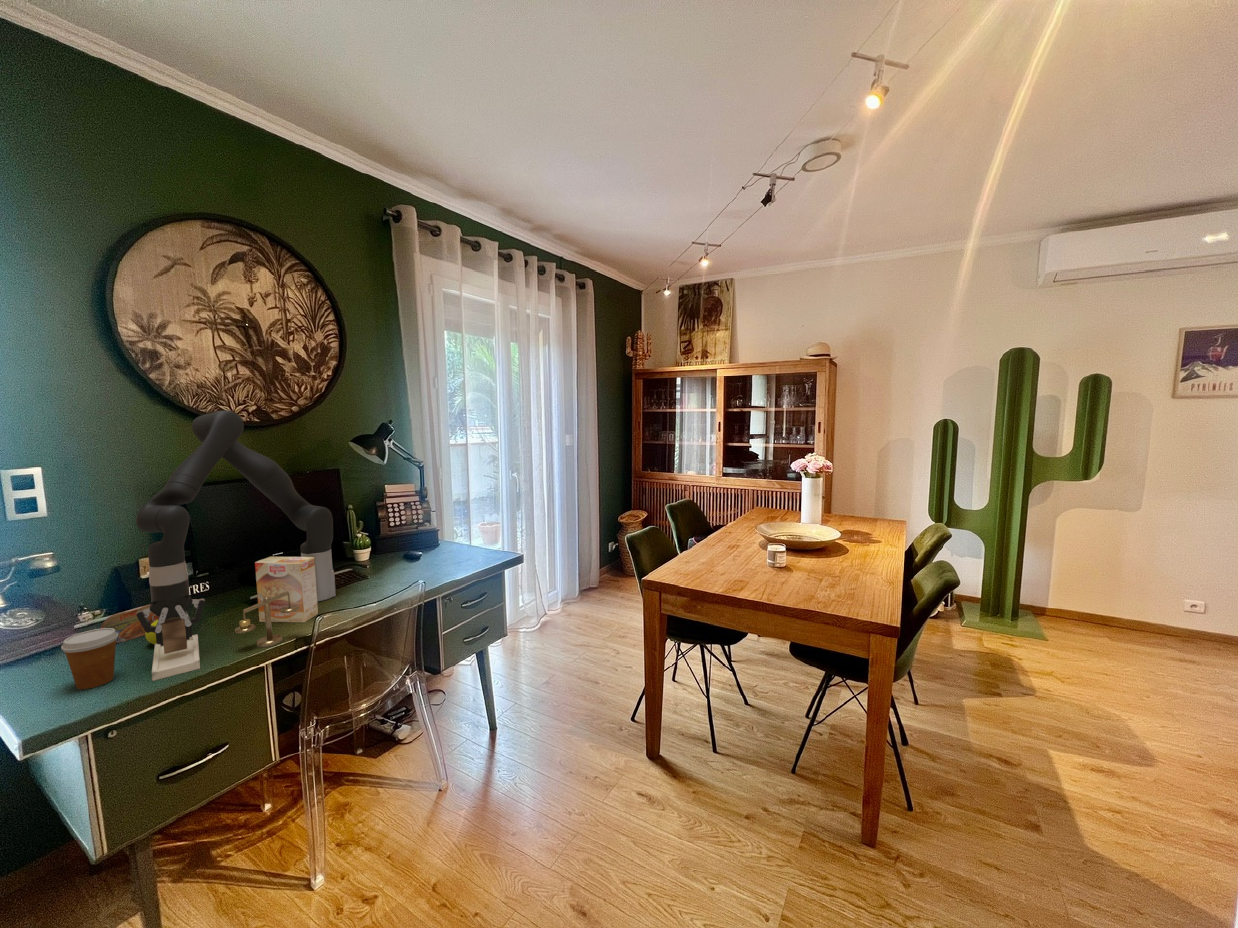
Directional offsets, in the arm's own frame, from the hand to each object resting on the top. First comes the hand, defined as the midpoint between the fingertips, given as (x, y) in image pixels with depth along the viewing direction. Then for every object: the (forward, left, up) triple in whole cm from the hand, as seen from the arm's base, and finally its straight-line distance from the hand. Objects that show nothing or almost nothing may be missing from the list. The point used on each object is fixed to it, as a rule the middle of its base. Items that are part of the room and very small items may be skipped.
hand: (175, 641), depth 132 cm
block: (0, 0, -2) cm, 2 cm away
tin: (+9, -27, -5) cm, 29 cm away
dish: (0, 0, -5) cm, 5 cm away
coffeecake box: (-27, -12, -5) cm, 30 cm away
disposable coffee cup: (+15, +2, -5) cm, 16 cm away
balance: (-20, +5, -5) cm, 21 cm away
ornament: (+3, -15, -5) cm, 16 cm away
